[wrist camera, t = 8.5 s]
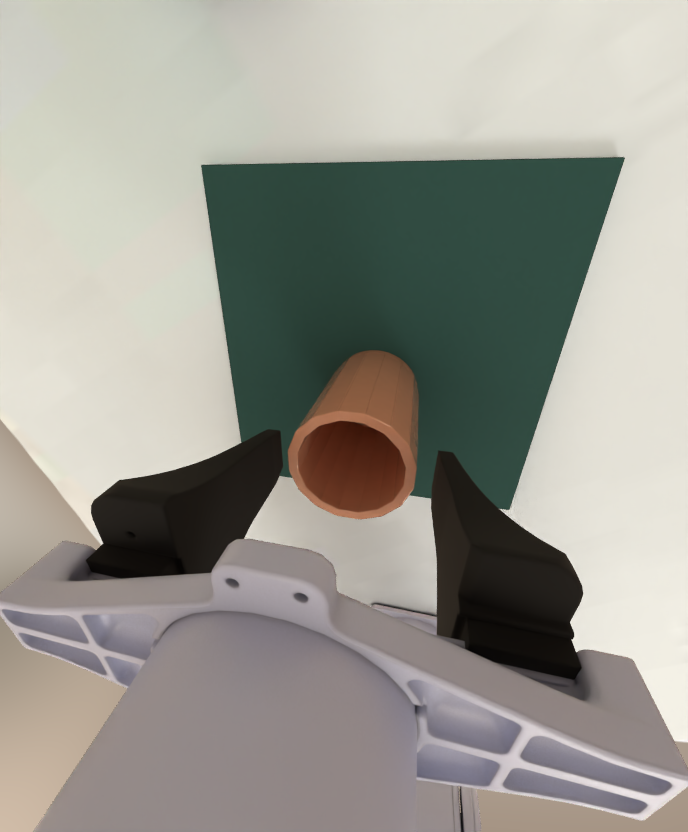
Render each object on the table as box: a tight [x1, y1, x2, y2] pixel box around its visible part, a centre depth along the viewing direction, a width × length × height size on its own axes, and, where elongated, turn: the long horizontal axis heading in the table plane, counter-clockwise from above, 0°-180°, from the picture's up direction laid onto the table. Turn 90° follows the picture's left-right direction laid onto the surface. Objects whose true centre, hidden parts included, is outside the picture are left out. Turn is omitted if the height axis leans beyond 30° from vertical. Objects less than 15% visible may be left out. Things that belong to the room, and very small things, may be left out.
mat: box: [201, 157, 625, 510], centre depth 21 cm, size 20×20×1 cm
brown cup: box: [288, 350, 419, 519], centre depth 18 cm, size 6×6×8 cm
